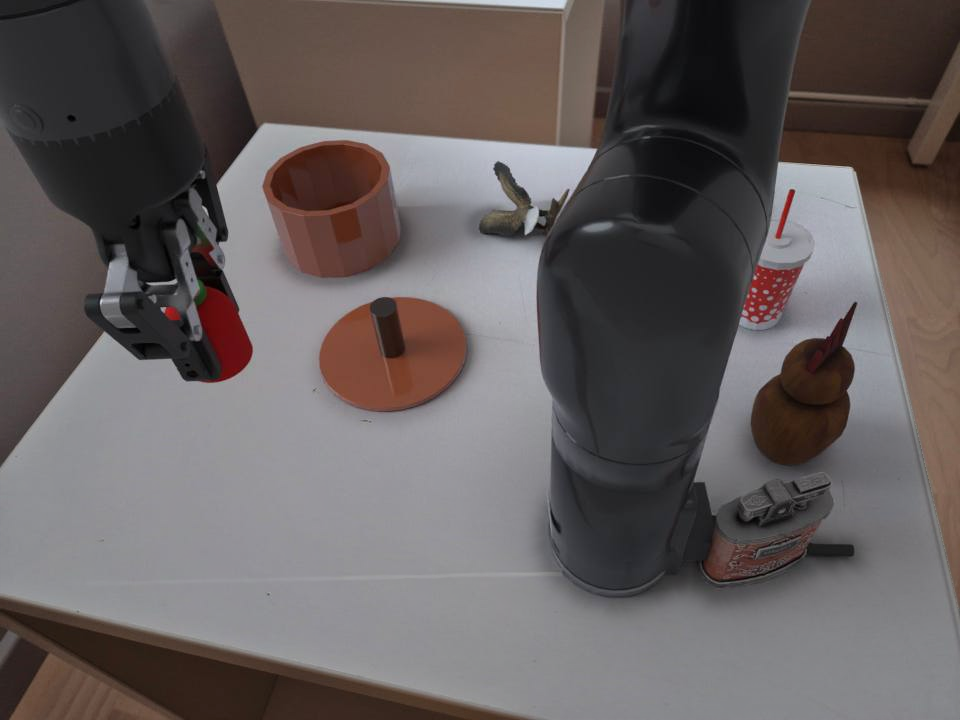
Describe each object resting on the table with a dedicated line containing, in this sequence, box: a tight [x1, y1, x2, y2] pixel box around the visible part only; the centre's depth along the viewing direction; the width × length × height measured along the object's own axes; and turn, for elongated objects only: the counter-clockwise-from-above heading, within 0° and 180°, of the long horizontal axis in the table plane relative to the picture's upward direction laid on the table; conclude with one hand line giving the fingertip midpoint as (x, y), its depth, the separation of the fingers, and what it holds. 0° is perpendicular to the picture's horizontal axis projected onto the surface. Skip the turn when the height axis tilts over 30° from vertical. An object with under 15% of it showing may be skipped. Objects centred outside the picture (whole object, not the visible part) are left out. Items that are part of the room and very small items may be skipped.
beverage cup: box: [739, 188, 816, 331], centre depth 66 cm, size 6×6×14 cm
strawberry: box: [163, 279, 254, 384], centre depth 44 cm, size 4×4×6 cm
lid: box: [318, 296, 467, 412], centre depth 67 cm, size 14×14×7 cm
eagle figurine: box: [478, 160, 571, 238], centre depth 79 cm, size 8×7×9 cm
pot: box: [261, 139, 402, 279], centre depth 78 cm, size 13×13×8 cm
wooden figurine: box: [749, 301, 858, 466], centre depth 55 cm, size 7×6×15 cm
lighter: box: [697, 471, 835, 590], centre depth 51 cm, size 8×3×10 cm, turn 106°
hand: (214, 344), depth 46 cm, fingers closed on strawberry, 4 cm apart
